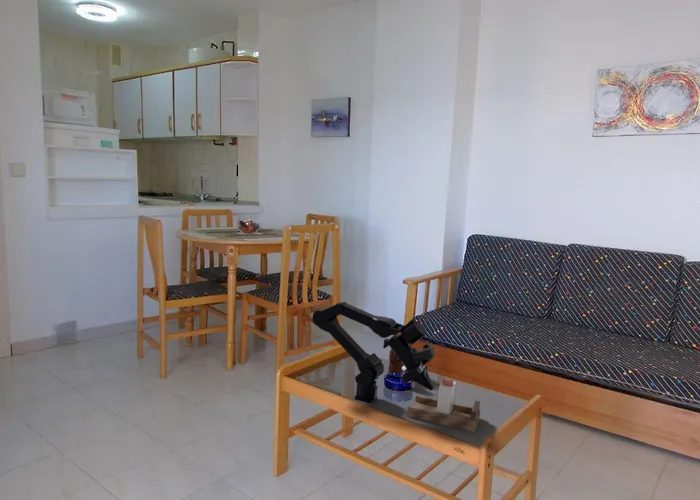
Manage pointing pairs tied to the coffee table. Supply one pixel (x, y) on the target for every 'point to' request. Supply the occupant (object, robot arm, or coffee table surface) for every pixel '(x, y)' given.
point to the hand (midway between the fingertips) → (432, 389)
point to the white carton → (446, 396)
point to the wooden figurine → (395, 361)
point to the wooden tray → (459, 417)
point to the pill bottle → (403, 373)
